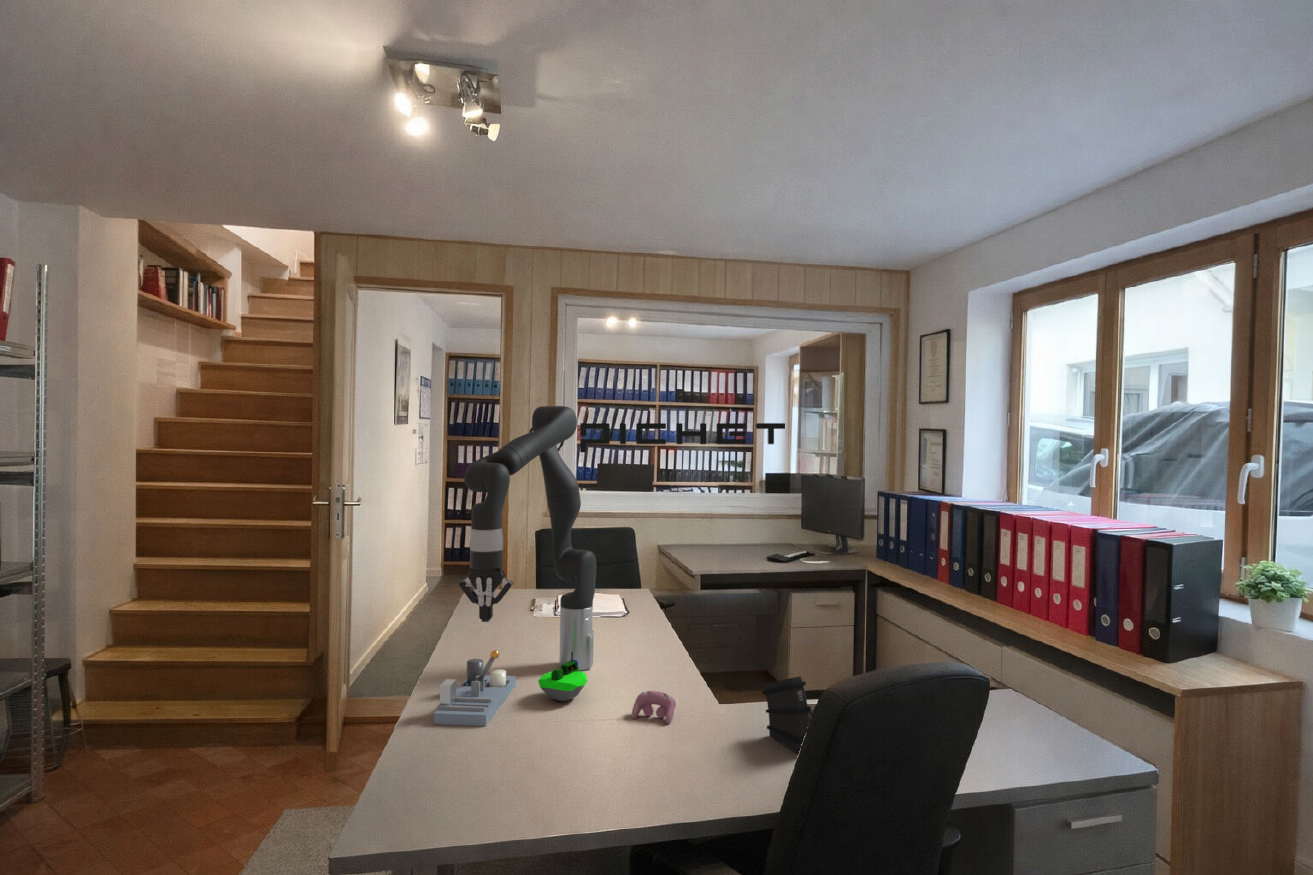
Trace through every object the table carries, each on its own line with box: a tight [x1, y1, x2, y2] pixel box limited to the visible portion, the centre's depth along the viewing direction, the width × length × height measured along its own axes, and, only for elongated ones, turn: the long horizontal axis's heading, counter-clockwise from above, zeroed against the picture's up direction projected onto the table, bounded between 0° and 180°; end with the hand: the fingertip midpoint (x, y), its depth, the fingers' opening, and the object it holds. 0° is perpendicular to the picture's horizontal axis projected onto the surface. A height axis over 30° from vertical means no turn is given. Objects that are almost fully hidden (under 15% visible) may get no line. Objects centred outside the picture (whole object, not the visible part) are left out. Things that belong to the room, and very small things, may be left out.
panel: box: [433, 674, 517, 727], centre depth 173 cm, size 12×26×6 cm, turn 177°
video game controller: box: [631, 690, 677, 725], centre depth 166 cm, size 10×5×7 cm, turn 72°
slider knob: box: [439, 678, 457, 706], centre depth 165 cm, size 2×4×5 cm, turn 177°
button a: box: [489, 669, 507, 687], centre depth 180 cm, size 4×4×5 cm
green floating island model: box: [537, 652, 588, 703], centre depth 177 cm, size 12×12×11 cm
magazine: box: [761, 675, 812, 754], centre depth 153 cm, size 4×13×15 cm, turn 28°
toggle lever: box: [476, 649, 500, 685], centre depth 173 cm, size 2×2×10 cm
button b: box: [466, 658, 484, 684], centre depth 180 cm, size 4×4×5 cm
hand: (486, 620), depth 166 cm, fingers closed
